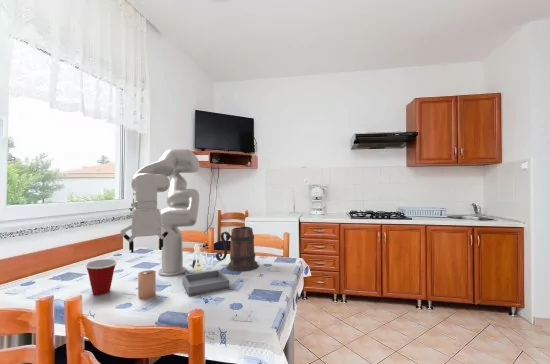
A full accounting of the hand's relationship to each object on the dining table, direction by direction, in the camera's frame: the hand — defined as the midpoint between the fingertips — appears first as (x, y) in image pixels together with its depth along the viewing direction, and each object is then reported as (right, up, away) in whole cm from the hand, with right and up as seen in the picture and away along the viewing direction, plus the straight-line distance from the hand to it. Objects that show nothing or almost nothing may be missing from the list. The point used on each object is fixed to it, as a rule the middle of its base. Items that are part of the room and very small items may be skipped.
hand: (146, 250), depth 105 cm
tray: (+20, -17, +10) cm, 28 cm away
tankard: (+29, -18, +38) cm, 51 cm away
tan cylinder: (0, -17, 0) cm, 17 cm away
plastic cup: (-20, -18, +4) cm, 27 cm away
